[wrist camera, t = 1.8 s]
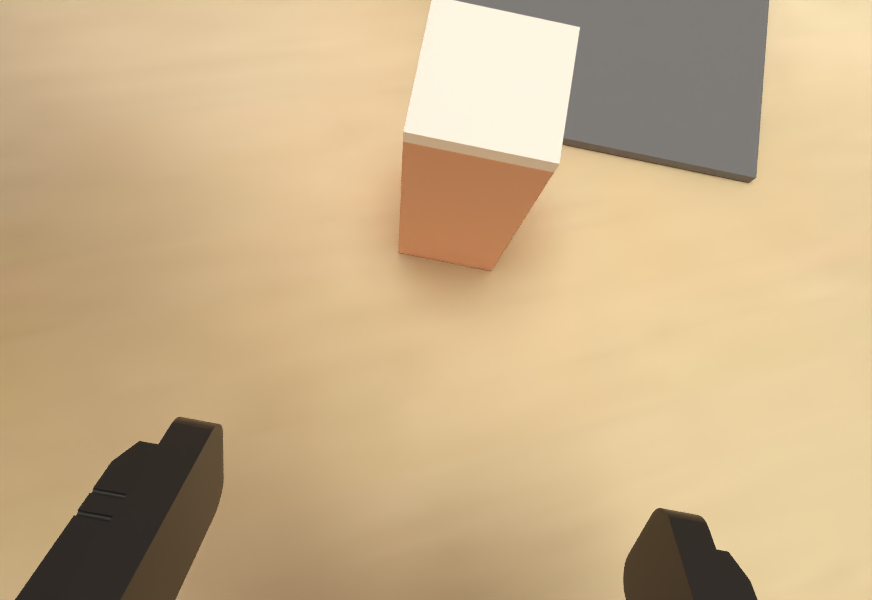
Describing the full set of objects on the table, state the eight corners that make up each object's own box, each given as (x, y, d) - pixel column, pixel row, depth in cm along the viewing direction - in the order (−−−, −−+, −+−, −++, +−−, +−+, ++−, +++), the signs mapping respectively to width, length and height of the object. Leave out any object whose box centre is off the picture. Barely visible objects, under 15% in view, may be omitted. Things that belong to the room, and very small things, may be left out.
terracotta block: (398, 252, 29) (403, 131, 17) (416, 166, 30) (432, -5, 18) (491, 270, 29) (559, 163, 17) (505, 184, 30) (579, 27, 18)
